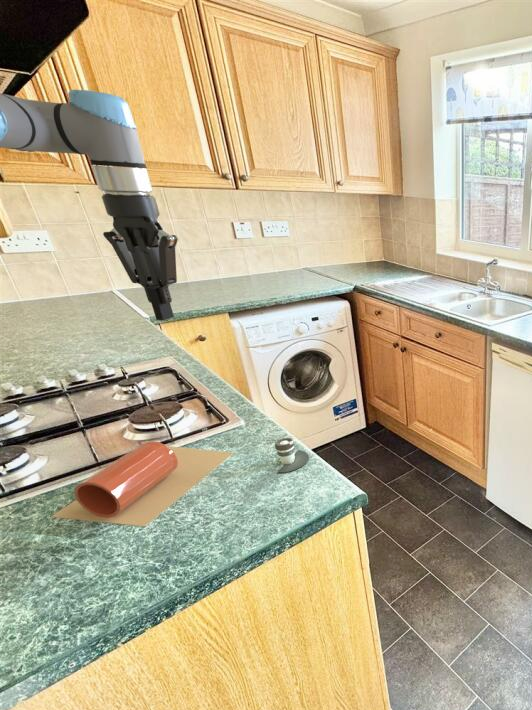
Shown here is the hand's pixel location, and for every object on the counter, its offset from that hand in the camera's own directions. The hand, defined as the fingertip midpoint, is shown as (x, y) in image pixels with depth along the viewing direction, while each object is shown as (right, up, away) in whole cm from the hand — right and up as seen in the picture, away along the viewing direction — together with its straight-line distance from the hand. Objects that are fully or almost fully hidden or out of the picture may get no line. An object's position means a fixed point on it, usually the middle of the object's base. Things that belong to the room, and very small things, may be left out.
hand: (165, 318), depth 86 cm
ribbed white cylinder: (+27, -30, -2) cm, 40 cm away
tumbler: (+6, -27, -9) cm, 29 cm away
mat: (+6, -32, -10) cm, 34 cm away
